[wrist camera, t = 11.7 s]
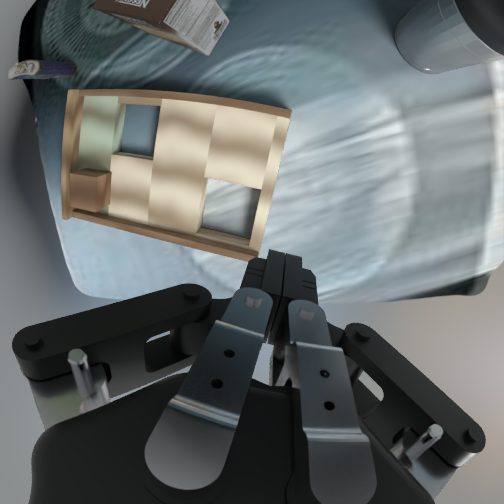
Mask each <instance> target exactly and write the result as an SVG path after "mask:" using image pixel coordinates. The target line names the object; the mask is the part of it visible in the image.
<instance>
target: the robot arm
mask: <svg viewBox="0 0 504 504" xmlns="http://www.w3.org/2000/svg"><path fill="white" fill-rule="evenodd" d="M395 41H396V45H397V47H398V49H399V51H400V53H401V54H402V56H403V57H404V59H405V60H406V61H407V62H408V63H409V64H411V65H412V66H413V67H414V68H416V69H418V70H420V71H422V72H425V73H428V74H439V73H442V72H446V71H450V70H454V69H459V68H463V67H467V66H471V65H476V64H480V63H485V62H490V61H495V60H500V59H504V0H420V1H419V2H418V3H416V4H415V5H414V6H413V7H412V8H411V9H410V10H409V11H408V14H406V15H405V16H404V17H403V18H402V19H401V20H400V21H399V22H398V23H397V26H396V28H395ZM167 331H170V334H168V335H166V336H163V337H161V338H157V339H155V340H152V341H149V342H147V340H149V339H150V338H151V337H153V336H156V335H159V334H162V333H164V332H167ZM268 335H269V337H268ZM267 338H268V344H271V345H274V348H273V352H272V355H271V358H270V371H269V385H266V384H264V383H262V382H259V381H257V380H255V379H252V375H253V372H254V368H255V365H256V362H257V358H258V355H259V351H260V349H261V347H262V343H266V341H267ZM146 342H147V343H146ZM12 348H13V351H14V354H15V356H16V358H17V360H18V362H19V364H20V369H21V371H22V374H23V375H24V378H25V379H26V381H27V383H28V385H29V387H30V389H31V391H32V393H33V396H34V399H35V403H36V405H37V408H38V411H39V414H40V417H41V420H42V422H43V425H44V428H45V430H46V431H45V432H44V433H43V434H42V435H41V436H40V438H39V439H38V440H37V442H36V444H35V446H34V449H33V452H32V459H31V460H32V461H31V464H32V487H31V495H30V500H29V504H435V502H434V499H435V498H436V496H437V495H438V494H439V493H440V491H441V490H442V489H443V487H444V486H445V485H446V483H447V482H448V481H449V479H450V478H451V476H452V475H453V474H454V472H455V471H456V470H458V469H459V468H460V467H462V466H463V465H464V464H466V463H467V462H468V461H469V460H471V459H472V458H473V457H475V456H476V455H477V454H478V453H479V452H481V451H482V450H483V448H484V447H485V441H486V439H485V434H484V432H483V430H482V428H481V427H480V426H479V425H478V424H477V423H476V422H475V421H474V420H473V419H472V418H471V417H470V416H469V415H468V414H466V413H465V412H464V411H463V410H462V409H461V408H460V407H459V406H458V405H457V404H456V403H454V402H453V401H452V400H451V399H450V398H449V397H448V396H447V395H446V394H445V393H444V392H443V391H441V390H440V389H439V388H438V387H437V386H436V385H435V384H434V383H433V382H432V381H430V380H429V379H428V378H427V377H426V376H425V375H424V374H423V373H422V372H420V371H419V370H418V369H417V368H416V367H415V366H414V365H413V364H412V363H410V362H409V361H408V360H407V359H406V358H405V357H404V356H403V355H401V354H400V353H399V352H398V351H397V350H396V349H395V348H394V347H392V346H391V345H390V344H389V343H388V342H387V341H386V340H385V339H383V338H382V337H381V336H380V335H379V334H378V333H376V332H375V331H374V330H373V329H372V328H370V327H368V326H366V325H364V324H361V323H351V324H348V325H347V326H346V328H345V330H342V329H341V328H338V327H336V326H333V325H332V324H330V323H328V322H327V320H326V316H325V313H324V311H323V309H322V308H321V307H320V306H318V296H317V286H316V277H315V275H314V274H313V273H312V271H311V270H308V269H304V268H302V257H299V256H295V255H291V254H287V253H286V255H285V253H283V252H279V251H275V250H270V249H269V252H268V256H267V259H262V258H258V257H254V258H253V259H251V260H249V262H248V265H247V268H246V271H245V274H244V277H243V280H242V283H241V286H240V289H239V290H237V291H236V292H235V294H234V296H233V297H231V298H227V299H212V295H211V293H210V292H209V291H208V290H207V289H206V288H204V287H202V286H200V285H197V284H181V285H177V286H174V287H170V288H166V289H163V290H159V291H156V292H152V293H149V294H145V295H142V296H138V297H134V298H131V299H127V300H124V301H120V302H116V303H113V304H110V305H106V306H102V307H99V308H95V309H91V310H88V311H84V312H80V313H76V314H73V315H69V316H66V317H62V318H58V319H54V320H51V321H47V322H43V323H39V324H35V325H32V326H28V327H25V328H23V329H22V330H20V331H19V332H18V333H17V334H16V335H15V337H14V339H13V342H12ZM192 364H193V365H192ZM190 365H192V366H191V368H190V370H189V372H188V373H181V374H176V375H172V376H169V377H167V378H164V379H162V380H160V381H158V382H156V383H153V384H151V385H149V386H147V387H145V388H142V389H140V390H138V391H136V392H134V393H131V394H129V395H127V396H124V397H122V398H120V399H117V400H115V401H113V402H110V400H111V398H113V397H115V396H118V395H121V394H123V393H126V392H128V391H131V390H133V389H136V388H138V387H141V386H143V385H146V384H148V383H151V382H153V381H155V380H158V379H160V378H163V377H165V376H167V375H169V374H172V373H174V372H176V371H179V370H181V369H183V368H185V367H187V366H190ZM363 370H364V371H365V372H366V373H367V374H368V375H369V376H370V377H371V378H372V379H373V380H374V381H375V382H376V383H377V384H378V385H379V386H380V387H381V388H382V390H383V393H384V397H383V400H382V401H380V400H379V399H378V398H377V397H375V395H374V394H373V393H372V392H371V391H370V390H369V389H368V388H366V386H365V385H364V384H363V383H362V382H361V381H359V379H358V378H359V377H360V375H361V373H362V372H363Z"/></svg>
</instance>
